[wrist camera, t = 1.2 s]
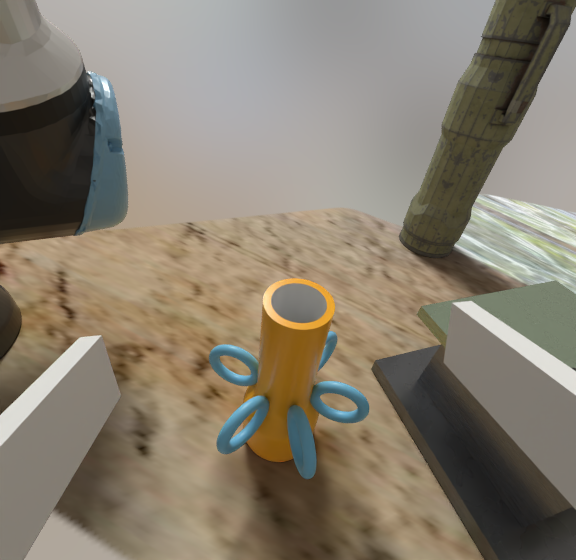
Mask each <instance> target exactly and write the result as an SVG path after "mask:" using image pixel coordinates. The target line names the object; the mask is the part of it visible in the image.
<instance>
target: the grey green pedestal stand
mask: <svg viewBox="0 0 576 560" xmlns="http://www.w3.org/2000/svg"><path fill="white" fill-rule="evenodd" d="M465 301H472V302H474V303H475V304H477V305H478V306H479V307H481V308H482V309H484V310H485V311H487V312H488V313H490V314H491V315H493V316H494V317H496V318H497V319H499V320H500V321H502V322H503V323H505V324H506V325H508V326H509V327H511V328H512V329H514V330H515V331H517V332H518V333H520V334H521V335H523V336H524V337H526V338H527V339H529V340H530V341H532V342H533V343H535V344H536V345H538V346H539V347H541V348H542V349H543V350H545V351H546V352H548V353H549V354H551V355H552V356H554V357H555V358H557V359H558V360H560V361H561V362H563V363H564V364H566V365H567V366H569V367H570V368H576V294H574V293H573V292H572V291H570V290H569V289H567V288H566V287H564V286H563V285H562V284H560V283H559V282H557V281H551V282H546V283H541V284H535V285H530V286H525V287H520V288H514V289H509V290H504V291H499V292H493V293H488V294H483V295H478V296H472V297H467V298H462V299H457V300H451V301H446V302H441V303H436V304H430V305H425V306H421V308H420V310H419V312H418V313H417V315H418V317H419V318H420V319H421V320H422V321H423V323H424V324H425V325H426V326H427V327H428V328H429V330H430V331H431V332H432V333H433V334H434V336H435V337H436V338H437V339H438V340H439V342H440V343H441V345H437V346H433V347H429V348H425V349H421V350H417V351H412V352H408V353H404V354H400V355H396V356H392V357H388V358H383V359H379V360H375V362H374V365H373V367H372V371H373V373H374V374H375V376H376V378H377V379H378V381H379V383H380V384H381V386H382V388H383V389H384V391H385V393H386V394H387V396H388V398H389V399H390V401H391V403H392V404H393V406H394V408H395V410H396V411H397V413H398V415H399V416H400V418H401V420H402V421H403V423H404V425H405V426H406V428H407V430H408V431H409V433H410V435H411V436H412V438H413V440H414V441H415V443H416V445H417V446H418V448H419V450H420V452H421V453H422V455H423V457H424V458H425V460H426V462H427V463H428V465H429V467H430V468H431V470H432V472H433V473H434V475H435V477H436V478H437V480H438V482H439V483H440V485H441V487H442V488H443V490H444V492H445V493H446V495H447V497H448V499H449V500H450V502H451V504H452V505H453V507H454V509H455V510H456V512H457V514H458V515H459V517H460V519H461V520H462V522H463V524H464V525H465V527H466V529H467V530H468V532H469V534H470V535H471V537H472V539H473V541H474V542H475V544H476V546H477V547H478V549H479V551H480V552H481V554H482V556H483V557H484V559H485V560H576V509H575V508H574V507H573V506H572V505H571V504H570V503H569V502H568V501H567V499H566V498H565V497H564V496H563V495H562V494H561V493H560V492H559V491H558V489H557V488H556V487H555V486H554V485H553V484H552V483H551V482H550V481H549V479H548V478H547V477H546V476H545V475H544V474H543V473H542V472H541V471H540V469H539V468H538V467H537V466H536V465H535V464H534V463H533V462H532V461H531V459H530V458H529V457H528V456H527V455H526V454H525V453H524V452H523V450H522V449H521V448H520V447H519V446H518V445H517V444H516V443H515V442H514V440H513V439H512V438H511V437H510V436H509V435H508V434H507V433H506V432H505V430H504V429H503V428H502V427H501V426H500V425H499V424H498V423H497V422H496V420H495V419H494V418H493V417H492V416H491V415H490V414H489V413H488V412H487V410H486V409H485V408H484V407H483V406H482V405H481V404H480V403H479V402H478V400H477V399H476V398H475V397H474V396H473V395H472V394H471V393H470V392H469V390H468V389H467V388H466V387H465V386H464V385H463V384H462V383H461V382H460V380H459V379H458V378H457V377H456V376H455V375H454V374H453V373H452V371H451V370H450V369H449V368H448V367H447V366H446V365H445V364H444V363H443V362H444V355H445V348H446V341H447V334H448V327H449V320H450V313H451V306H452V303H455V302H465Z"/></svg>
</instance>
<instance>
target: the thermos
mask: <svg viewBox="0 0 576 560" xmlns="http://www.w3.org/2000/svg"><path fill="white" fill-rule="evenodd" d="M575 7H576V0H496V1H495V4H494V6H493V8H492V11H491V14H490V16H489V19H488V21H487V24H486V26H485V29H484V31H483V34H482V36H481V37H483V39H482V41H481V44H480V46H479V49H478V51H477V53H475V54H474V56H473V59H472V61H471V64H470V65H469V67H468V68H467V70H466V71H465V72H464V74H463V75H462V77H461V78H460V80H459V81H458V83H457V86H456V89H455V91H454V94H453V96H452V99H451V101H450V104H449V107H448V109H447V112H446V114H445V117H444V120H443V122H442V135H441V137H440V140H439V143H438V145H437V147H436V150H435V152H434V155H433V157H432V160H431V163H430V165H429V168H428V170H427V173H426V175H425V178H424V181H423V183H422V185H421V188H420V191H419V192H418V193H417V194H416V195H415V196H414V198H413V199H412V201H411V204H410V206H409V209H408V212H407V214H406V217H405V219H404V222H403V223H404V226H403V229H402V231H401V233H400V235H399V238H400V241H401V242H402V244H403V245H404V246H405V247H407V248H408V249H409V250H411V251H413V252H415V253H417V254H420V255H423V256H427V257H433V258H442V257H445V256H448V255H449V254H450V253H451V251H452V248H453V246H454V244H455V243H456V242H457V241H458V240H459V239H460V237H461V235H462V233H463V231H464V229H465V227H466V225H467V224H468V222H469V220H470V217H471V209H472V206H473V204H474V202H475V200H476V198H477V196H478V194H479V192H480V191H481V189H482V187H483V185H484V183H485V181H486V179H487V177H488V175H489V173H490V172H491V170H492V168H493V166H494V164H495V162H496V160H497V158H498V156H499V154H500V153H501V151H502V149H503V147H504V146H506V145H507V144H508V143H509V142H510V141H511V140H512V138H513V137H514V135H515V133H516V131H517V129H518V127H519V125H520V123H521V122H522V120H523V118H524V116H525V114H526V112H527V110H528V109H529V107H530V105H531V103H532V101H533V99H534V97H535V95H536V92H537V86H538V84H539V82H540V80H541V78H542V76H543V74H544V73H545V71H546V69H547V67H548V65H549V63H550V61H551V59H552V58H553V56H554V54H555V52H556V50H557V48H558V46H559V44H560V42H561V41H562V39H563V37H564V35H565V33H566V31H567V29H568V27H569V25H570V20H571V14H572V13H573V11H574V9H575Z"/></svg>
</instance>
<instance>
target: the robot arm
mask: <svg viewBox="0 0 576 560" xmlns="http://www.w3.org/2000/svg"><path fill="white" fill-rule="evenodd" d="M126 176H127V175H126V165H125V157H124V152H123V149H122V138H121V126H120V120H119V114H118V108H117V103H116V98H115V94H114V91H113V87H112V85H111V83H110V81H109V80H108V79H107V78H105V77H103V76H99V75H97V74H96V73H92V72H87V73H86V70H85V67H84V64H83V59H82V56H81V53H80V50H79V49H78V47H77V45H76V44H75V43H74V42H73V40H72V39H71V38H70V37H69V36H67V35H66V34H65V33H64V32H62V31H61V30H60V29H58V28H57V27H56V26H55V25H54V24H52V23H51V22H50V21H48V20H47V19H46V18H45V17H43V16H42V15H41V13H40V12H39V9H38V6H37V4H36V1H35V0H0V244H4V243H13V242H21V241H29V240H38V239H46V238H55V237H63V236H71V235H73V236H77V235H81V234H83V233H84V232H89V231H95V230H100V229H105V228H110V227H114V226H116V225H118V224H119V223H121V222H122V221H123V220H124V218H125V217H126V214H127V210H128V189H127V177H126ZM21 320H22V318H21V312H20V309H19V307H18V306H17V304H16V303H15V301H14V300H13V298H12V297H11V295H10V294H9V292H8V291H7V290H6V289H5V288H4V287H3V286H1V285H0V358H1V356H2V355H3V354H4V353H5V352H6V351H7V350H8V349H9V347H10V346H11V345H12V343H13V342H14V340H15V338H16V336H17V334H18V332H19V330H20V326H21ZM443 363H444V364H445V365H446V366H447V367H448V368H449V369H450V370H451V371H452V373H453V374H454V375H455V376H456V377H457V378H458V379H459V380H460V382H461V383H462V384H463V385H464V386H465V387H466V388H467V389H468V390H469V392H470V393H471V394H472V395H473V396H474V397H475V398H476V399H477V400H478V402H479V403H480V404H481V405H482V406H483V407H484V408H485V409H486V410H487V412H488V413H489V414H490V415H491V416H492V417H493V418H494V419H495V420H496V422H497V423H498V424H499V425H500V426H501V427H502V428H503V429H504V430H505V432H506V433H507V434H508V435H509V436H510V437H511V438H512V439H513V440H514V442H515V443H516V444H517V445H518V446H519V447H520V448H521V449H522V450H523V452H524V453H525V454H526V455H527V456H528V457H529V458H530V459H531V461H532V462H533V463H534V464H535V465H536V466H537V467H538V468H539V469H540V471H541V472H542V473H543V474H544V475H545V476H546V477H547V478H548V479H549V481H550V482H551V483H552V484H553V485H554V486H555V487H556V488H557V489H558V491H559V492H560V493H561V494H562V495H563V496H564V497H565V498H566V499H567V501H568V502H569V503H570V504H571V505H572V506H573V507H574V508H575V509H576V368H570V367H569V366H567V365H566V364H564V363H563V362H561V361H560V360H558V359H557V358H555V357H554V356H552V355H551V354H549V353H548V352H546V351H545V350H543V349H542V348H541V347H539V346H538V345H536V344H535V343H533V342H532V341H530V340H529V339H527V338H526V337H524V336H523V335H521V334H520V333H518V332H517V331H515V330H514V329H512V328H511V327H509V326H508V325H506V324H505V323H503V322H502V321H500V320H499V319H497V318H496V317H494V316H493V315H491V314H490V313H488V312H487V311H485V310H484V309H482V308H481V307H479V306H478V305H477V304H475V303H474V302H472V301H465V302H455V303H452V306H451V313H450V320H449V327H448V334H447V341H446V348H445V355H444V362H443ZM120 397H121V394H120V391H119V388H118V385H117V382H116V378H115V375H114V372H113V369H112V366H111V363H110V360H109V357H108V354H107V350H106V347H105V344H104V341H103V338H102V335H99V336H89V337H80V338H79V339H78V340H77V341H76V342H75V343H74V344H73V345H72V346H70V347H69V348H68V349H67V350H66V351H65V352H64V353H63V354H62V355H61V356H60V357H59V358H58V359H57V360H56V361H55V362H54V363H53V364H52V365H51V366H50V367H49V368H48V369H47V370H46V371H45V372H44V373H43V374H42V375H41V376H40V377H39V378H38V379H37V380H36V381H35V382H34V383H33V384H32V385H31V386H30V387H29V388H28V389H27V390H25V391H24V392H23V393H22V394H21V395H20V396H19V397H18V398H17V399H16V400H15V401H14V402H13V403H12V404H11V405H10V406H9V407H8V408H7V409H6V410H5V411H4V412H3V413H2V414H1V415H0V560H24V558H25V556H26V555H27V553H28V551H29V550H30V548H31V546H32V545H33V543H34V541H35V540H36V538H37V536H38V535H39V533H40V531H41V529H42V528H43V526H44V525H45V523H46V521H47V519H48V518H49V516H50V514H51V513H52V511H53V509H54V508H55V506H56V504H57V503H58V501H59V499H60V498H61V496H62V494H63V493H64V491H65V489H66V488H67V486H68V484H69V483H70V481H71V479H72V477H73V476H74V474H75V472H76V471H77V469H78V467H79V466H80V464H81V462H82V461H83V459H84V457H85V456H86V454H87V452H88V451H89V449H90V447H91V446H92V444H93V442H94V440H95V439H96V437H97V435H98V434H99V432H100V430H101V429H102V427H103V425H104V424H105V422H106V420H107V419H108V417H109V415H110V414H111V412H112V410H113V409H114V407H115V405H116V403H117V402H118V400H119V398H120Z"/></svg>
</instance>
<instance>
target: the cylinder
mask: <svg viewBox="0 0 576 560" xmlns="http://www.w3.org/2000/svg"><path fill="white" fill-rule="evenodd" d="M334 311H335V303H334V300H333V298H332V296H331V295H330V293H329V292H328V291H327V290H326V289H324V288H323V287H322V286H320V285H318V284H316V283H314V282H312V281H309V280H304V279H296V278H292V279H285V280H281V281H278V282H276V283H274V284H272V285H271V286H270V287H269V288H268V289H267V290H266V292H265V294H264V297H263V307H262V322H261V337H260V351H259V363H258V361H257V360H256V359H255V358H254V357H253V356H252V355H251V354H250V353H248V352H247V351H245V350H244V349H242V348H239V347H237V346H233V345H219V346H216V347H215V348H213V349H212V351H211V352H210V355H209V361H210V364H211V366H212V368H213V369H214V371H215V372H216V373H217V374H218V375H219V376H221V377H222V378H223V379H225V380H227V381H228V382H230V383H233V384H236V385H240V386H248V388H247V390H246V393H245V396H244V401H243V404H242V405H241V406H240V407H239V408H238V409H237V410H236V411H235V412H234V413H233V414H232V415H231V416H230V418H229V419H228V420H227V422H226V423H225V424H224V426H223V427H222V429H221V431H220V433H219V435H218V438H217V449H218V451H219V452H220V453H222V454H229V453H232V452H234V451H236V450H237V449H239V448H240V447H241V446H242V445H244V444H245V443H246V442H247V444H248V445H249V447H250V448H251V449H252V451H253V452H255V453H256V454H257V455H258V456H260V457H261V458H263V459H265V460H268V461H272V462H284V461H289V460H291V459H294V462H295V465H296V467H297V469H298V472H299V473H300V475H301V476H302V477H303V478H305V479H310V478H312V477H313V476H314V474H315V472H316V464H317V461H316V449H315V443H314V438H313V431H314V428H315V426H316V423H317V420H318V416H319V413H320V414H321V415H323V416H324V417H326V418H328V419H331V420H333V421H337V422H341V423H356V422H359V421H362V420H363V419H365V418H366V416H367V415H368V413H369V404H368V401H367V399H366V398H365V397H364V395H363V394H362V393H361V392H359V391H358V390H357V389H355V388H353V387H352V386H349V385H347V384H344V383H341V382H335V381H325V382H320V383H318V384H316V385H314V383H315V379H316V376H317V372H318V371H319V370H320V369H321V368H322V367H323V366H324V364H325V363H326V362H327V361H328V359H329V358H330V356H331V354H332V353H333V351H334V349H335V347H336V344H337V335H336V333H334V332H332V331H329V329H330V326H331V322H332V318H333V315H334ZM325 345H326V346H325ZM324 347H325V348H324ZM223 355H227V356H232V357H234V358H237V359H239V360H240V361H242V362H243V363H245V364H246V365H247V366H248V367H249V369H250V370H251V375H249V376H242V375H238V374H236V373H233V372H232V371H230V370H228V369H227V368H226V367H225V366H224V365H223V364H222V363H221V361H220V356H223ZM325 393H335V394H340V395H343V396H345V397H347V398H349V399H351V400H352V401H353V402H354V403H355V404H356V405H357V407H358V408H357V410H355V411H351V412H344V411H338V410H335V409H333V408H331V407H329V406H327V405H326V404H324V403H323V402H322V401H321V399H320V395H322V394H325ZM242 422H243V430H242V431H241V432H240V433H238V434H237V435H236V436H235V437H233V438H232V436H233V434H234V433H235V431H236V430H237V428H238V427H239V426H240V425H241V423H242ZM231 438H232V439H231Z"/></svg>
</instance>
